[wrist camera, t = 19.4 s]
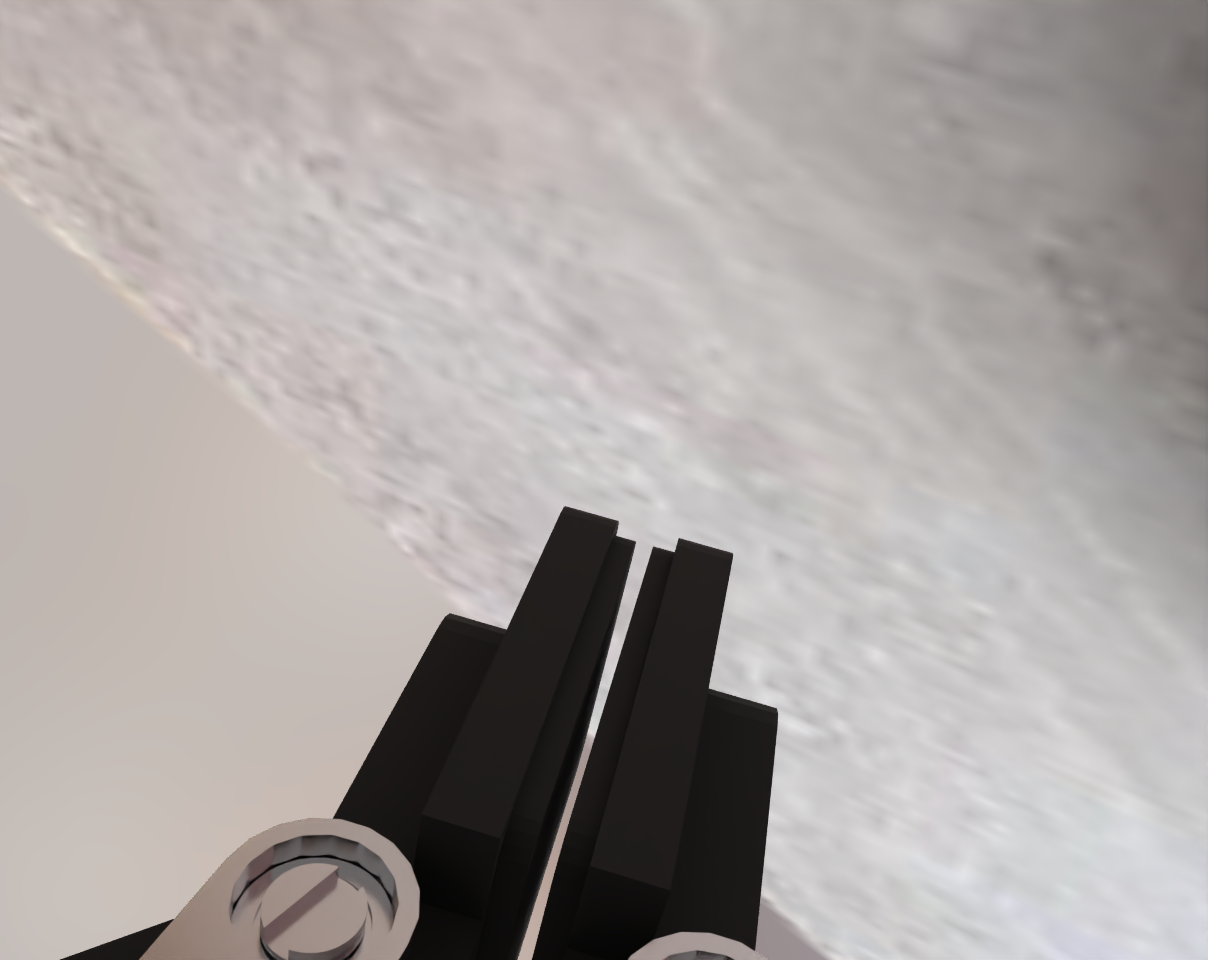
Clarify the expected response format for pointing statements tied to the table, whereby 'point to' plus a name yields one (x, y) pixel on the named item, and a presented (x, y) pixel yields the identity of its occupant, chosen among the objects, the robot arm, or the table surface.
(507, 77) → the table surface
